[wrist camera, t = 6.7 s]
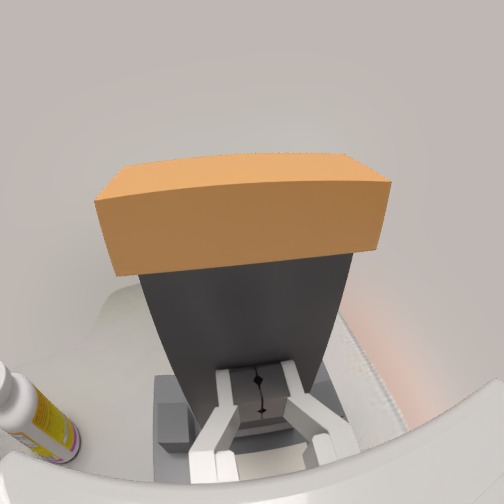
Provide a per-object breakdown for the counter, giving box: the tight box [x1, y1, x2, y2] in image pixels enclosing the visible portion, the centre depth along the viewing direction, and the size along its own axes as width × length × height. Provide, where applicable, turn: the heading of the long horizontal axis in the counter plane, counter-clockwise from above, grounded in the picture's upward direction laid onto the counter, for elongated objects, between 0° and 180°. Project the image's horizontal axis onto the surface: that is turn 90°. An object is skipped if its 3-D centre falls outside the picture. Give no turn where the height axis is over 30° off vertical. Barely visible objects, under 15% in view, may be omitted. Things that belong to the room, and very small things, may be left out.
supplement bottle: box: [0, 361, 79, 463], centre depth 15 cm, size 7×7×13 cm
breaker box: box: [153, 360, 349, 484], centre depth 18 cm, size 11×14×12 cm
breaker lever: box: [94, 153, 391, 437], centre depth 11 cm, size 3×7×17 cm, turn 100°
